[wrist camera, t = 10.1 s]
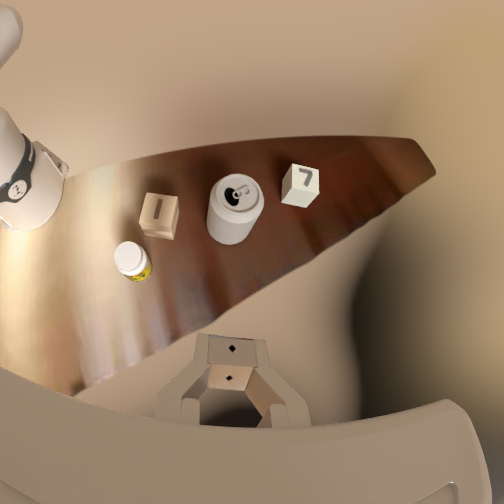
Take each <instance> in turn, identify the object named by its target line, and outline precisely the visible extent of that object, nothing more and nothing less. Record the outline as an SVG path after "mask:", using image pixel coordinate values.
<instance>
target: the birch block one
mask: <svg viewBox="0 0 504 504" xmlns="http://www.w3.org/2000/svg"><path fill="white" fill-rule="evenodd" d="M178 215H179V207H178V197H176V196H169V195H162V194H154V193H146V197H145V200H144V204H143V208H142V212H141V215H140V219H139V224H140V226H141V228H142V230H143V232H144V234H145V235H146V236H152V237H159V238H166V239H172V240H174V235H175V230H176V225H177V220H178Z"/></svg>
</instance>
